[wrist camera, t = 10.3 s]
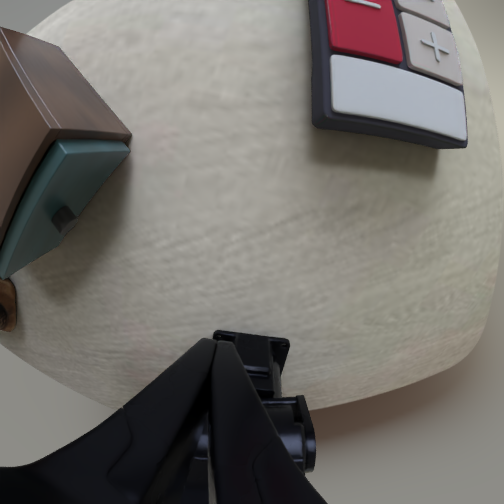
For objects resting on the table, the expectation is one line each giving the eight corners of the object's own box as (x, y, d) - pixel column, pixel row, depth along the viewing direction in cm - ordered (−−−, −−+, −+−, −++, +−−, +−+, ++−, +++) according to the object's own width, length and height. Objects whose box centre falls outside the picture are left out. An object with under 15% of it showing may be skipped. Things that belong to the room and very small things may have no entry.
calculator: (442, -15, 8) (475, 149, 12) (420, 3, 12) (441, 150, 16) (310, -57, 8) (326, 116, 13) (303, -27, 12) (311, 128, 17)
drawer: (141, 163, 17) (79, 171, 10) (66, 256, 20) (12, 294, 13) (57, 60, 14) (0, 44, 7) (-1, 154, 16) (-54, 164, 9)
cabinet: (132, 134, 17) (50, 128, 9) (54, 237, 20) (-15, 277, 11) (59, 46, 14) (-8, 24, 5) (-3, 144, 17) (-67, 155, 8)
